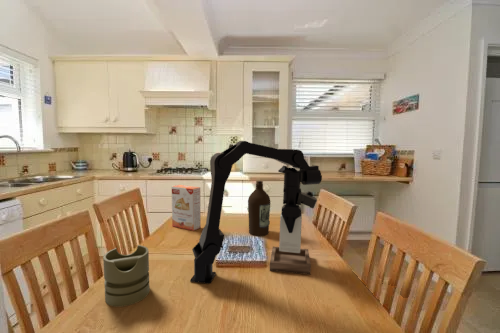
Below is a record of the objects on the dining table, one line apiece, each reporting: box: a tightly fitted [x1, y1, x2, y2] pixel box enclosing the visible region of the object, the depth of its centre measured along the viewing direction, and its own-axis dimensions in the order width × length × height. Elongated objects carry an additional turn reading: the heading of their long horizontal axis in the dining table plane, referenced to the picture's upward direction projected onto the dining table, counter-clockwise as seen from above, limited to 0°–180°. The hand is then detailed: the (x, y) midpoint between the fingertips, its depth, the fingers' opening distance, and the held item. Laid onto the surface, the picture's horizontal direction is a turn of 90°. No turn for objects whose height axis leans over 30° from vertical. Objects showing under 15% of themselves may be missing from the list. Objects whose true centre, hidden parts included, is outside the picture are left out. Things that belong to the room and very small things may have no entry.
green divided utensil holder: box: [102, 244, 150, 308], centre depth 72 cm, size 11×12×11 cm
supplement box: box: [278, 212, 303, 253], centre depth 91 cm, size 7×7×13 cm
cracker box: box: [171, 184, 202, 232], centre depth 129 cm, size 14×6×21 cm, turn 62°
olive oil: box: [247, 180, 271, 237], centre depth 122 cm, size 11×11×25 cm
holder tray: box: [269, 246, 312, 275], centre depth 92 cm, size 13×13×3 cm
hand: (290, 229), depth 91 cm, fingers closed on supplement box, 7 cm apart
